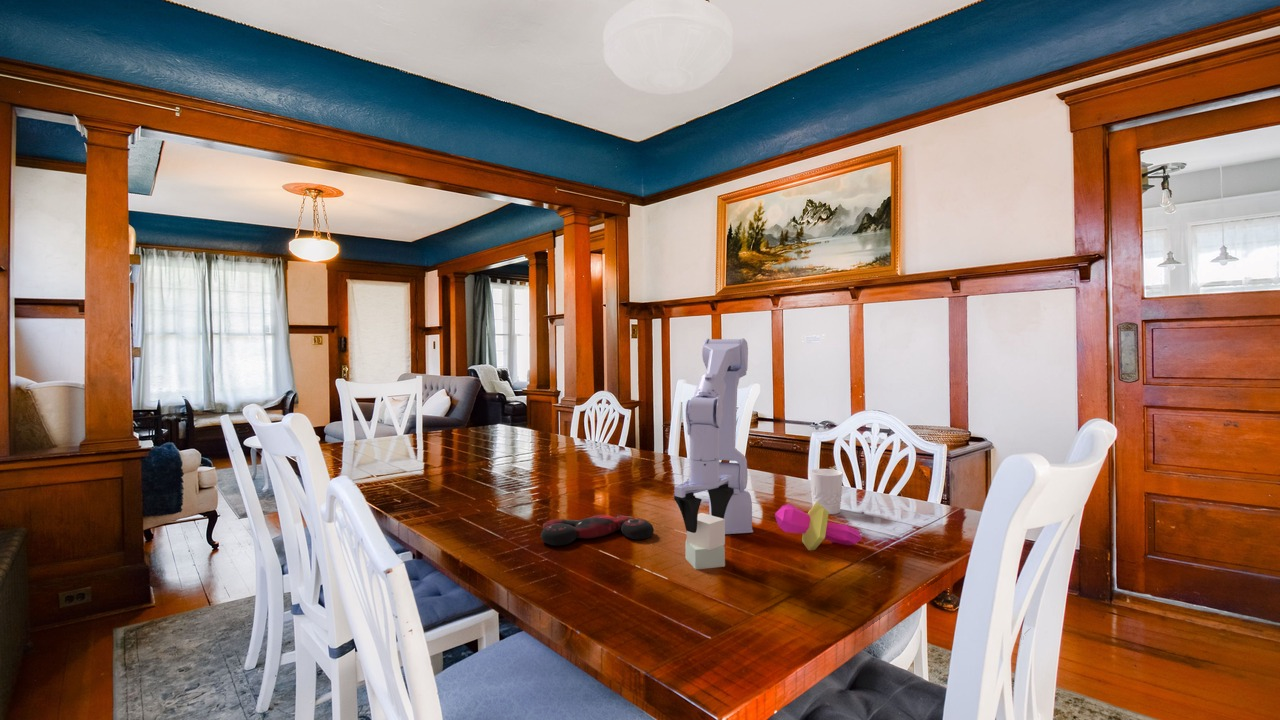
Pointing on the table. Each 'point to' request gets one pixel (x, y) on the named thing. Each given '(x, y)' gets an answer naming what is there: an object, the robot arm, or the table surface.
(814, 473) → the white cup
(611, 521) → the toy motorcycle
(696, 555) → the sage base brick
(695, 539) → the cream brick
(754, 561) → the table surface
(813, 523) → the toy
